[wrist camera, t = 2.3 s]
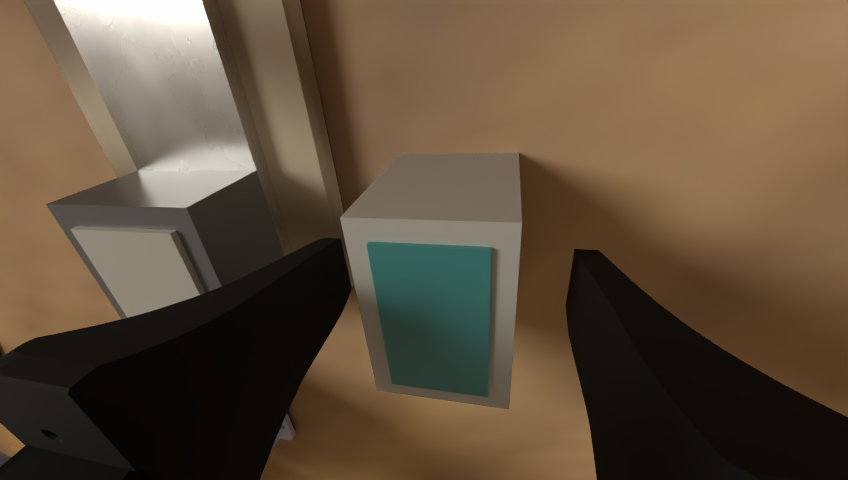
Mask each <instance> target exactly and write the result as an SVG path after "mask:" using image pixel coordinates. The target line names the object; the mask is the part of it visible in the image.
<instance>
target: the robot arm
mask: <svg viewBox="0 0 848 480" xmlns="http://www.w3.org/2000/svg"><path fill="white" fill-rule="evenodd" d="M351 289H352V286H351V282H350V277H349V273H348V268H347V264H346V259H345V255H344V250H343V246H342V241H341V238H322V239H319V240H317V241H314V242H312V243H310V244H308V245H306V246H304V247H302V248H300V249H298V250H296V251H294V252H292V253H290V254H288V255H286V256H284V257H282V258H280V259H279V260H277V261H275V262H273V263H271V264H269V265H267V266H265V267H263V268H261V269H258V270H256V271H254V272H252V273H250V274H248V275H246V276H244V277H242V278H240V279H238V280H235V281H233V282H231V283H229V284H226V285H224V286H221V287H219V288H217V289H214V290H211V291H209V292H206V293H204V294H201V295H199V296H196V297H193V298H190V299H187V300H184V301H181V302H178V303H175V304H172V305H169V306H166V307H163V308H160V309H157V310H153V311H150V312H147V313H143V314H139V315H136V316H132V317H129V318H125V319H121V320H117V321H113V322H109V323H105V324H101V325H96V326H92V327H87V328H82V329H77V330H73V331H68V332H63V333H58V334H53V335H48V336H43V337H37V338H34V339H32V340H30V341H28V342H26V343H24V344H21V345H20V346H18V347H17V348H15V349H14V350H12V351H10V352H9V353H7V354H6V355H4V356H3V357H1V358H0V423H1V424H2V425H3V426H5V427H6V428H7V429H8V430H9V431H10V432H11V433H12V434H13V435H15V436H16V437H17V438H18V439H19V440H20V441H21V442H22V443H23V444H24V445H26V446H25V447H24V448H22V449H21V450H20V451H19V452H18V453H16V454H15V455H14V456H13V457H12V458H10V457H9V456H7V455H5V454H3V453H1V452H0V480H260V477H261V475H262V472H263V470H264V467H265V465H266V462H267V460H268V457H269V456H270V454H271V452H272V450H273V449H274V447H275V445H276V443H277V442H278V440H279V439H284V440H292V439H293V437H294V435H295V430H294V428H293V426H292V423H291V421H290V419H289V416H288V414H287V412H288V409H289V407H290V405H291V403H292V401H293V399H294V397H295V394H296V392H297V390H298V388H299V386H300V384H301V382H302V380H303V378H304V376H305V374H306V373H307V371H308V369H309V367H310V366H311V364H312V362H313V361H314V359H315V357H316V356H317V354H318V352H319V351H320V349H321V347H322V346H323V344H324V342H325V341H326V339H327V338H328V336H329V334H330V333H331V331H332V329H333V327H334V326H335V324H336V322H337V321H338V319H339V317H340V315H341V314H342V311H343V309H344V307H345V304H346V302H347V300H348V297H349V294H350V292H351ZM566 313H567V323H568V332H569V338H570V343H571V347H572V351H573V355H574V360H575V364H576V368H577V372H578V376H579V380H580V384H581V388H582V392H583V396H584V401H585V405H586V409H587V414H588V419H589V424H590V430H591V438H592V445H593V452H594V460H595V467H596V476H597V480H848V417H846V416H844V415H842V414H840V413H838V412H836V411H834V410H832V409H830V408H828V407H826V406H824V405H822V404H820V403H818V402H816V401H814V400H812V399H810V398H808V397H806V396H804V395H802V394H800V393H799V392H797V391H795V390H793V389H791V388H789V387H787V386H785V385H784V384H782V383H780V382H778V381H776V380H774V379H773V378H771V377H769V376H767V375H766V374H764V373H762V372H760V371H759V370H757V369H755V368H753V367H752V366H750V365H748V364H747V363H745V362H743V361H741V360H740V359H738V358H736V357H735V356H733V355H731V354H730V353H728V352H727V351H725V350H723V349H722V348H720V347H719V346H717V345H716V344H714V343H713V342H711V341H710V340H708V339H707V338H705V337H704V336H702V335H701V334H699V333H698V332H696V331H695V330H693V329H692V328H690V327H689V326H687V325H686V324H685V323H683V322H682V321H680V320H679V319H678V318H676V317H675V316H674V315H673V314H671V313H670V312H669V311H667V310H666V309H665V308H664V307H662V306H661V305H660V304H658V303H657V302H656V301H655V300H654V299H652V298H651V297H650V296H649V295H647V294H646V293H645V292H644V291H643V290H642V289H640V288H639V287H638V286H637V285H636V284H635V283H634V282H632V281H631V280H630V279H629V278H628V277H627V276H626V275H625V274H624V273H623V272H621V271H620V270H619V269H618V268H617V267H616V266H615V265H614V264H613V263H612V262H611V261H610V260H609V259H608V258H606V257H605V256H604V255H603V254H602V253H601V252H600V251H599V250H583V249H575V251H574V257H573V263H572V270H571V276H570V282H569V288H568V295H567V301H566Z"/></svg>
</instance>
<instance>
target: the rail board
mask: <svg viewBox="0 0 848 480" xmlns="http://www.w3.org/2000/svg"><path fill="white" fill-rule="evenodd" d="M217 1H218V5H219V8H220V11H221V14H222V18H223V21H224V24H225V28H226V31H227V34H228V38H229V41H230V44H231V47H232V51H233V54H234V57H235V61H236V64H237V67H238V70H239V74H240V77H241V80H242V84H243V87H244V90H245V94H246V97H247V100H248V103H249V107H250V110H251V113H252V117H253V120H254V123H255V127H256V130H257V133H258V136H259V140H260V143H261V146H262V150H263V153H264V156H265V160H266V163H267V166H268V169H269V173H270V176H271V179H272V183H273V186H274V189H275V192H276V196H277V199H278V202H279V206H280V209H281V212H282V216H283V219H284V222H285V225H286V229H287V232H288V235H289V239H290V242H291V245H292V249H293V252H294V251H296V250H298V249H300V248H302V247H304V246H306V245H308V244H310V243H312V242H314V241H317V240H319V239H322V238H341V241H342V246H343V250H344V255H345V259H346V264H347V268H348V273H349V277H350V282H351V286H352V288H353V286H354V280H353V276H352V271H351V267H350V262H349V257H348V253H347V248H346V243H345V239H344V234H343V230H342V225H341V220H340V217H341V216H342V215H343V214H344V211H343V206H342V201H341V196H340V192H339V187H338V182H337V177H336V172H335V167H334V163H333V158H332V153H331V148H330V143H329V138H328V134H327V129H326V124H325V119H324V114H323V110H322V105H321V100H320V95H319V90H318V85H317V81H316V76H315V71H314V66H313V61H312V56H311V52H310V47H309V42H308V37H307V32H306V27H305V23H304V18H303V13H302V8H301V3H300V0H217ZM24 2H25V4H26V6H27V7H28V9H29V11H30V13H31V15H32V17H33V19H34V21H35V23H36V24H37V26H38V28H39V30H40V32H41V34H42V36H43V38H44V40H45V42H46V43H47V45H48V47H49V49H50V51H51V53H52V55H53V57H54V59H55V60H56V62H57V64H58V66H59V68H60V70H61V72H62V74H63V76H64V77H65V79H66V81H67V83H68V85H69V87H70V89H71V91H72V93H73V94H74V96H75V98H76V100H77V102H78V104H79V106H80V108H81V110H82V112H83V113H84V115H85V117H86V119H87V121H88V123H89V125H90V127H91V129H92V130H93V132H94V134H95V136H96V138H97V140H98V142H99V144H100V146H101V147H102V149H103V151H104V153H105V155H106V157H107V159H108V161H109V163H110V164H111V166H112V168H113V170H114V172H115V174H116V176H117V178H119V177H122V176H125V175H127V174H130V173H133V172H135V171H138V170H137V168H136V166H135V164H134V162H133V160H132V158H131V156H130V154H129V152H128V150H127V148H126V146H125V144H124V142H123V140H122V138H121V136H120V134H119V132H118V129H117V127H116V125H115V123H114V121H113V119H112V117H111V115H110V113H109V111H108V109H107V107H106V105H105V103H104V101H103V99H102V97H101V95H100V93H99V91H98V89H97V87H96V85H95V83H94V81H93V79H92V77H91V75H90V73H89V71H88V69H87V67H86V65H85V63H84V61H83V59H82V57H81V55H80V53H79V50H78V48H77V46H76V44H75V42H74V40H73V38H72V36H71V34H70V32H69V30H68V28H67V26H66V24H65V22H64V20H63V18H62V16H61V14H60V12H59V10H58V8H57V6H56V4H55V2H54V0H24Z"/></svg>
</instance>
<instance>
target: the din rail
mask: <svg viewBox="0 0 848 480" xmlns="http://www.w3.org/2000/svg"><path fill="white" fill-rule="evenodd" d="M54 2H55V4H56V6H57V8H58V10H59V12H60V14H61V16H62V18H63V20H64V22H65V24H66V26H67V28H68V30H69V32H70V34H71V36H72V38H73V40H74V42H75V44H76V46H77V48H78V50H79V53H80V55H81V57H82V59H83V61H84V63H85V65H86V67H87V69H88V71H89V73H90V75H91V77H92V79H93V81H94V83H95V85H96V87H97V89H98V91H99V93H100V95H101V97H102V99H103V101H104V103H105V105H106V107H107V109H108V111H109V113H110V115H111V117H112V119H113V121H114V123H115V125H116V127H117V129H118V132H119V134H120V136H121V138H122V140H123V142H124V144H125V146H126V148H127V150H128V152H129V154H130V156H131V158H132V160H133V162H134V164H135V166H136V168H137V170H138V171H178V170H257V173H258V177H259V180H260V183H261V186H262V189H263V192H264V195H265V198H266V201H267V205H268V208H269V211H270V214H271V217H272V220H273V223H274V226H275V230H276V233H277V236H278V239H279V242H280V245H281V248H282V251H283V254H284V256H286V255H288V254H290V253H292V252H293V249H292V245H291V242H290V239H289V235H288V232H287V229H286V225H285V222H284V219H283V216H282V212H281V209H280V206H279V202H278V199H277V196H276V192H275V189H274V186H273V183H272V179H271V176H270V173H269V169H268V166H267V163H266V160H265V156H264V153H263V150H262V146H261V143H260V140H259V136H258V133H257V130H256V127H255V123H254V120H253V117H252V113H251V110H250V107H249V103H248V100H247V97H246V94H245V90H244V87H243V84H242V80H241V77H240V74H239V70H238V67H237V64H236V61H235V57H234V54H233V51H232V47H231V44H230V41H229V38H228V34H227V31H226V28H225V24H224V21H223V18H222V14H221V11H220V8H219V5H218V1H217V0H54Z"/></svg>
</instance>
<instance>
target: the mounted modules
mask: <svg viewBox="0 0 848 480" xmlns="http://www.w3.org/2000/svg"><path fill="white" fill-rule="evenodd" d="M46 205H47V206H48V208H49V209H50V211H51V213H52V214H53V216H54V217H55V219H56V220H57V222H58V223H59V225H60V226H61V228H62V229H63V231H64V232H65V234H66V235H67V237H68V238H69V240H70V241H71V243H72V244H73V246H74V247H75V249H76V250H77V252H78V253H79V255H80V257H81V258H82V260H83V261H84V263H85V264H86V266H87V267H88V269H89V270H90V272H91V273H92V275H93V276H94V278H95V279H96V281H97V282H98V284H99V285H100V287H101V288H102V290H103V291H104V293H105V294H106V296H107V298H108V299H109V301H110V302H111V304H112V305H113V307H114V308H115V310H116V311H117V313H118V314H119V316H120V317H121V319H125V318H129V317H132V316H136V315H139V314H143V313H147V312H150V311H153V310H157V309H160V308H163V307H166V306H169V305H172V304H175V303H178V302H181V301H184V300H187V299H190V298H193V297H196V296H199V295H201V294H204V293H206V292H209V291H211V290H214V289H217V288H219V287H221V286H224V285H226V284H229V283H231V282H233V281H235V280H238V279H240V278H242V277H244V276H246V275H248V274H250V273H252V272H254V271H256V270H258V269H261V268H263V267H265V266H267V265H269V264H271V263H273V262H275V261H277V260H279V259H280V258H282V257H284V254H283V251H282V248H281V245H280V242H279V239H278V236H277V233H276V230H275V226H274V223H273V220H272V217H271V214H270V211H269V208H268V205H267V201H266V198H265V195H264V192H263V189H262V186H261V183H260V180H259V177H258V173H257V170H178V171H135V172H133V173H130V174H127V175H125V176H122V177H119V178H116V179H114V180H111V181H108V182H105V183H103V184H100V185H97V186H95V187H92V188H89V189H86V190H84V191H81V192H78V193H75V194H73V195H70V196H67V197H64V198H62V199H59V200H56V201H54V202H51V203H48V204H46Z"/></svg>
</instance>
